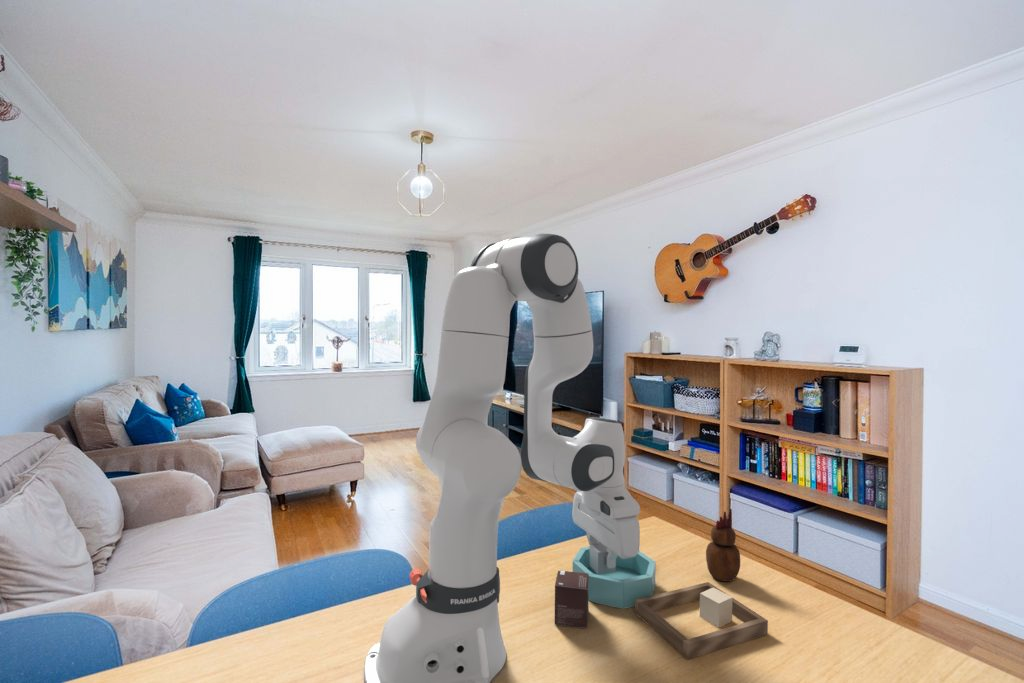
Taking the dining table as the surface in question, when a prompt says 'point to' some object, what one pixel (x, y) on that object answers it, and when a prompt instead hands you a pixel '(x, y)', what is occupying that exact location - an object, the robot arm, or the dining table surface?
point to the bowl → (618, 579)
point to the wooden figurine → (723, 550)
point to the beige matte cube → (716, 607)
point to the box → (571, 599)
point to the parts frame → (704, 643)
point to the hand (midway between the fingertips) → (602, 560)
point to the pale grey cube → (599, 559)
